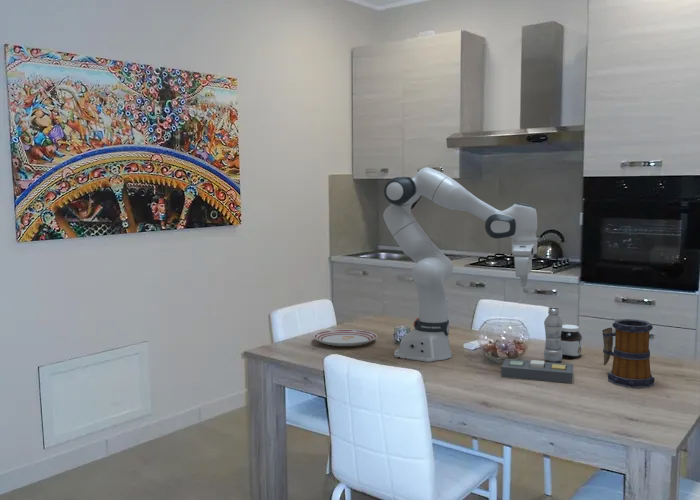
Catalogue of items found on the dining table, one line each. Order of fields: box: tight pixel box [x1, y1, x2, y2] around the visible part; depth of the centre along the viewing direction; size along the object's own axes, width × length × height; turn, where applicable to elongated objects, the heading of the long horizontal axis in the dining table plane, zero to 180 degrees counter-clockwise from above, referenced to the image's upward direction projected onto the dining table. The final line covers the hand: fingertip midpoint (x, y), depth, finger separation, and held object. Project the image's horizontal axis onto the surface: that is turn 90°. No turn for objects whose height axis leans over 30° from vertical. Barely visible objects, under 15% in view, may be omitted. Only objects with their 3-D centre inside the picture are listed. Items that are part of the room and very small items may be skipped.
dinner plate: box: [312, 328, 378, 347], centre depth 268 cm, size 28×27×3 cm
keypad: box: [500, 358, 574, 384], centre depth 217 cm, size 23×11×4 cm, turn 69°
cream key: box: [530, 359, 546, 368], centre depth 217 cm, size 4×4×2 cm
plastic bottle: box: [543, 307, 564, 363], centre depth 233 cm, size 6×7×20 cm
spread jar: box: [561, 324, 583, 360], centre depth 242 cm, size 12×11×12 cm
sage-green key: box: [509, 361, 524, 366], centre depth 219 cm, size 4×4×2 cm
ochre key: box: [552, 364, 566, 370], centre depth 214 cm, size 4×4×2 cm
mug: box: [602, 318, 655, 390], centre depth 210 cm, size 19×14×20 cm
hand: (523, 286), depth 227 cm, fingers closed
